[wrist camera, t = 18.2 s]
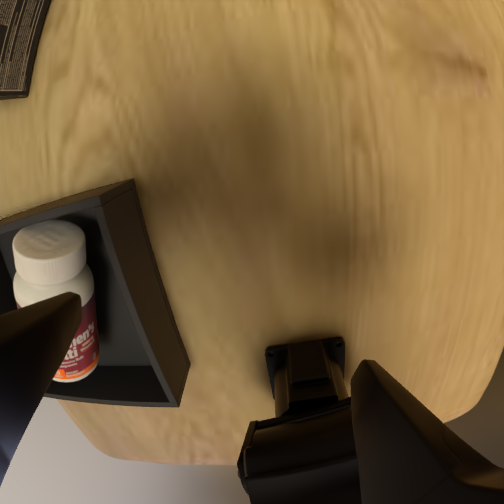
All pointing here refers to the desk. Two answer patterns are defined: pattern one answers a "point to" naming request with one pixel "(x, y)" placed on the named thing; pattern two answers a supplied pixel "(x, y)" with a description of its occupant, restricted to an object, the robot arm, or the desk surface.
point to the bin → (113, 300)
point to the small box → (19, 44)
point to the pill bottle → (59, 285)
